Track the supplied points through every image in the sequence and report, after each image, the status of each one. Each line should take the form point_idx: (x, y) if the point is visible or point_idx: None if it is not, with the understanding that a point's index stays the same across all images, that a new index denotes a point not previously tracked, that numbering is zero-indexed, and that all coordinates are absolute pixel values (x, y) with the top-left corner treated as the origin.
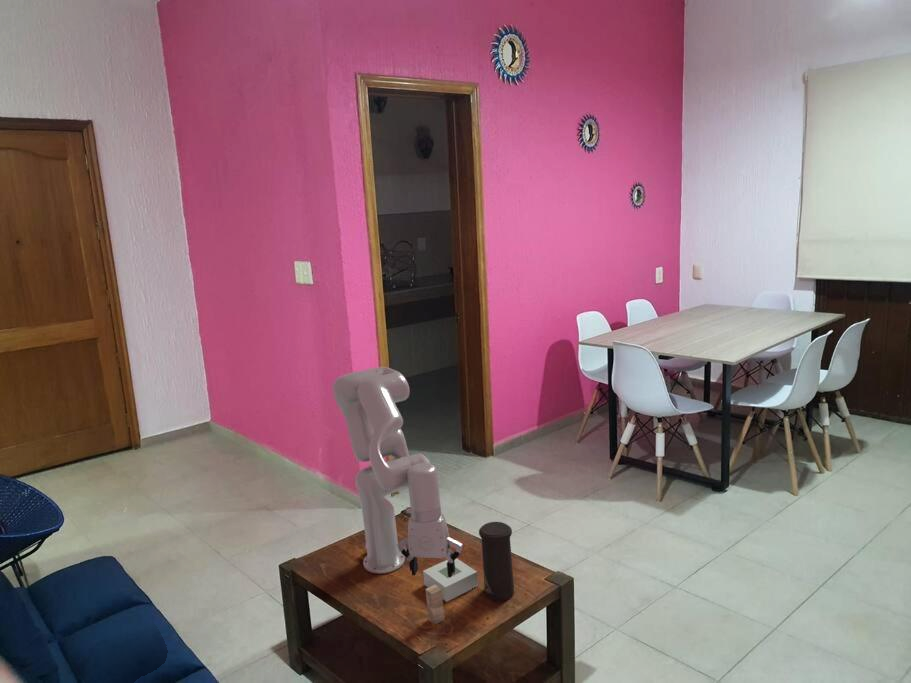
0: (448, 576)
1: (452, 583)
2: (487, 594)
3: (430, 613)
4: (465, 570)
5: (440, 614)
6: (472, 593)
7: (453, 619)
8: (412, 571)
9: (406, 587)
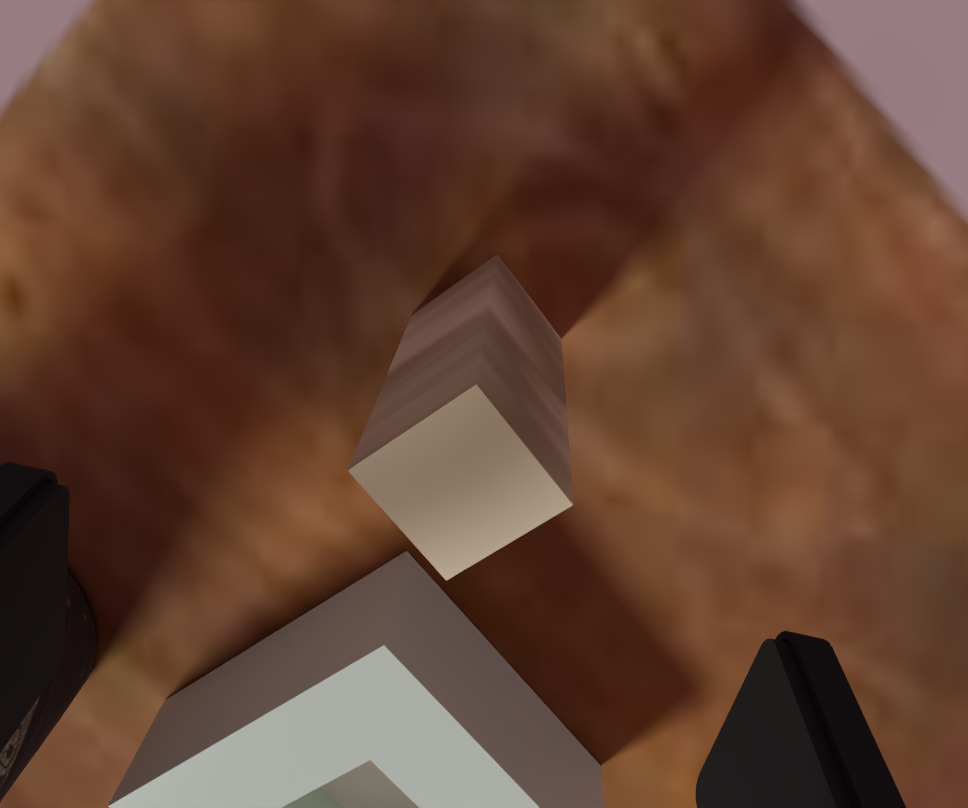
0: (55, 485)
1: (316, 688)
2: None
3: (534, 333)
4: None
5: (431, 319)
6: (198, 623)
7: (326, 313)
8: (838, 696)
9: None
